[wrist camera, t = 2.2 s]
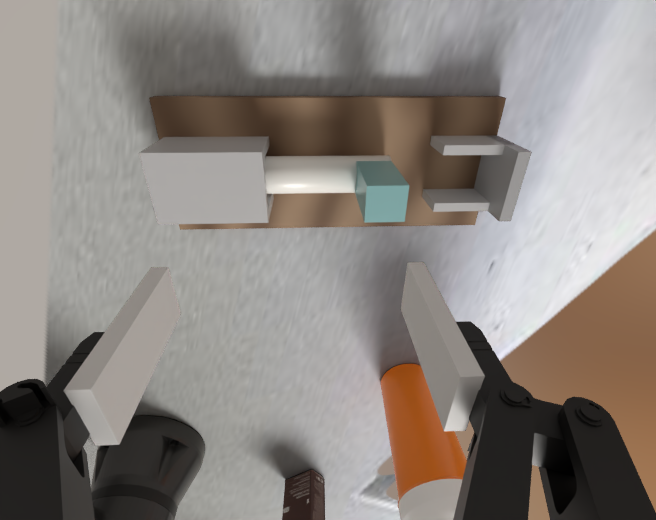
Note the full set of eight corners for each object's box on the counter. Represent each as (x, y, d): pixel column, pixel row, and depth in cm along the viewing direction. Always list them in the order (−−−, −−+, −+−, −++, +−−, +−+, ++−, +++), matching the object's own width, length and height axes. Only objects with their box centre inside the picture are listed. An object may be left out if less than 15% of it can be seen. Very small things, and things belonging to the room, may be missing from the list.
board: (183, 224, 36) (180, 229, 35) (154, 95, 30) (149, 97, 29) (470, 219, 37) (474, 224, 36) (499, 96, 31) (506, 98, 30)
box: (310, 467, 61) (310, 552, 50) (324, 478, 63) (328, 562, 53) (282, 478, 62) (277, 564, 52) (297, 489, 64) (295, 573, 54)
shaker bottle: (372, 362, 48) (407, 536, 31) (437, 354, 48) (509, 525, 31) (375, 403, 53) (408, 574, 36) (435, 396, 52) (496, 565, 35)
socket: (422, 197, 35) (441, 222, 30) (431, 135, 32) (454, 152, 27) (481, 196, 35) (510, 221, 30) (496, 135, 32) (531, 151, 27)
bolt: (174, 187, 33) (136, 228, 25) (166, 152, 31) (123, 185, 24) (383, 185, 34) (404, 224, 26) (386, 151, 32) (409, 182, 25)
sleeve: (178, 200, 34) (157, 224, 29) (164, 136, 30) (138, 153, 26) (273, 198, 34) (268, 222, 29) (268, 136, 31) (261, 152, 26)
